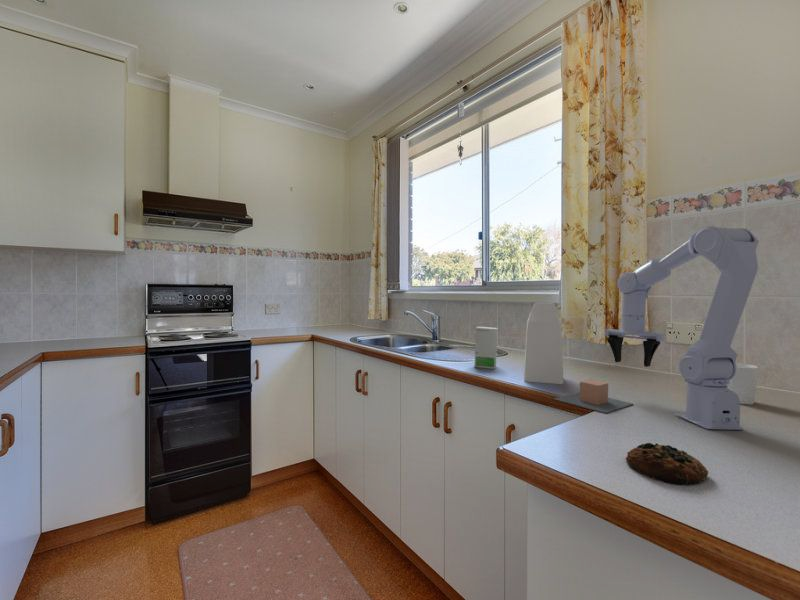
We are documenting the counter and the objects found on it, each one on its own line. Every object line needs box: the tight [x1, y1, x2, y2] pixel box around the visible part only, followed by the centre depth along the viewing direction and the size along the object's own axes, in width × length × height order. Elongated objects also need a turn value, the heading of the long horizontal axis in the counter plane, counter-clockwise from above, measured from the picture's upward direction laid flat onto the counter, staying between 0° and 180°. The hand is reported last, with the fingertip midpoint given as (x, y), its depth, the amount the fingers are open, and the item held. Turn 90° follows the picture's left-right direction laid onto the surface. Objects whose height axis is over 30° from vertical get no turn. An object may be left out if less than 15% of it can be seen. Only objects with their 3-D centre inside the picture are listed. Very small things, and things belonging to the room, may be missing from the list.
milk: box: [523, 302, 564, 385], centre depth 129 cm, size 12×12×26 cm
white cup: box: [727, 362, 759, 405], centre depth 105 cm, size 8×8×10 cm
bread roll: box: [625, 442, 709, 486], centre depth 63 cm, size 11×11×5 cm
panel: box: [553, 392, 634, 415], centre depth 102 cm, size 14×14×1 cm
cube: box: [579, 379, 609, 405], centre depth 102 cm, size 5×5×5 cm
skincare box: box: [473, 326, 499, 370], centre depth 149 cm, size 8×7×16 cm
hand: (632, 363), depth 107 cm, fingers open, 7 cm apart
